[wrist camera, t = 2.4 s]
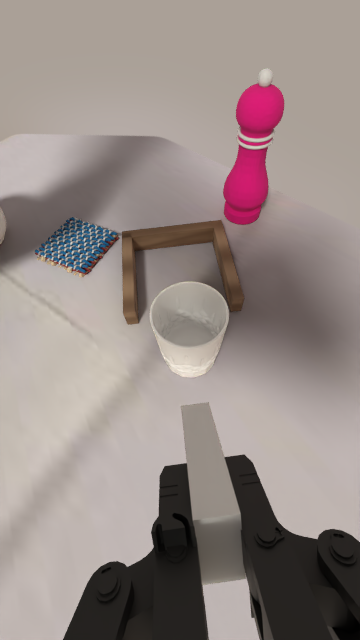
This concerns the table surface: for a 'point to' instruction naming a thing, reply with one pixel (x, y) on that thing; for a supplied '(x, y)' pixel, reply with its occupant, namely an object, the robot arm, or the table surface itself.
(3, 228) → the lidded jar
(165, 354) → the white cup
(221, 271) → the walnut bay
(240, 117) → the pepper mill
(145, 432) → the table surface
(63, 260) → the woven mat
